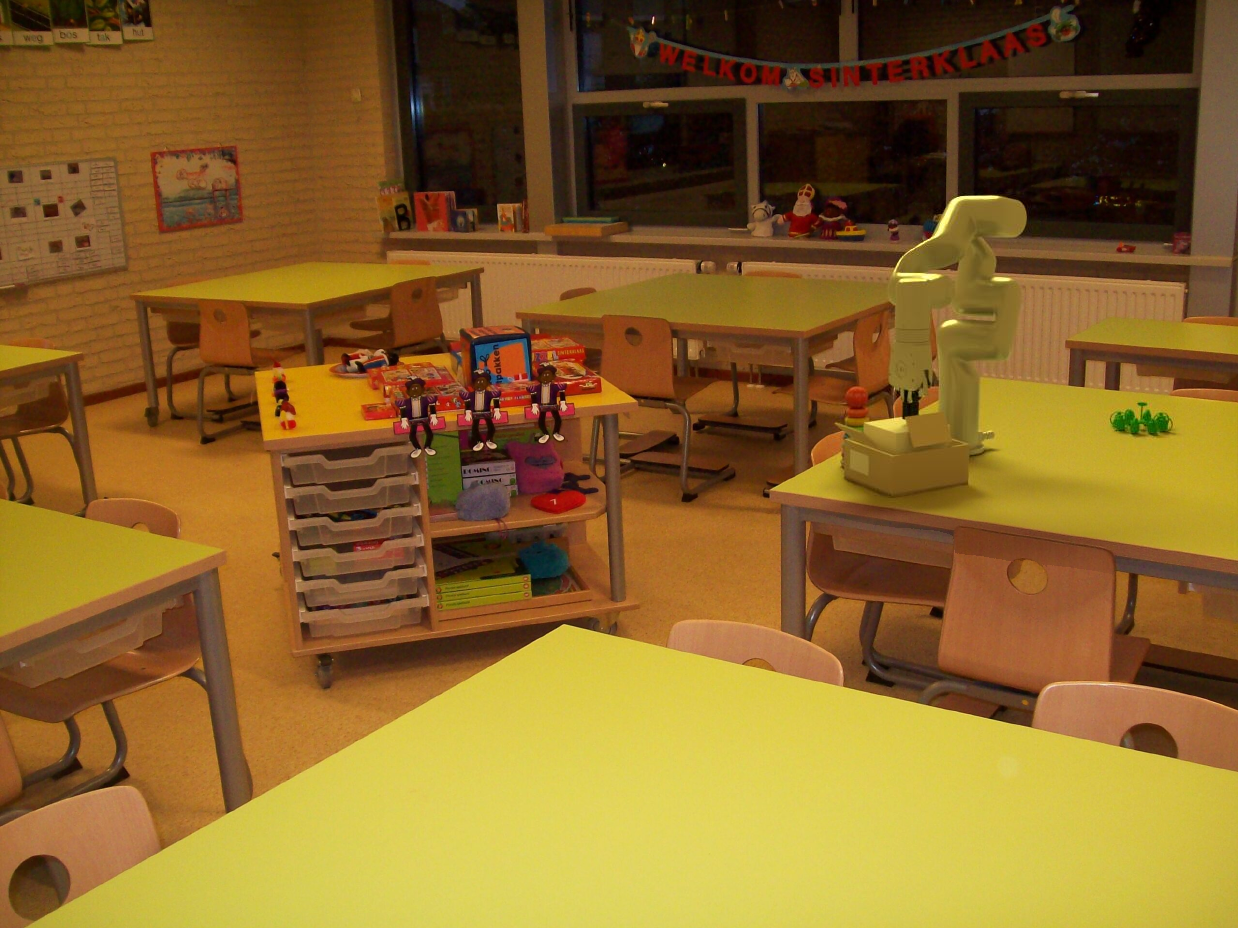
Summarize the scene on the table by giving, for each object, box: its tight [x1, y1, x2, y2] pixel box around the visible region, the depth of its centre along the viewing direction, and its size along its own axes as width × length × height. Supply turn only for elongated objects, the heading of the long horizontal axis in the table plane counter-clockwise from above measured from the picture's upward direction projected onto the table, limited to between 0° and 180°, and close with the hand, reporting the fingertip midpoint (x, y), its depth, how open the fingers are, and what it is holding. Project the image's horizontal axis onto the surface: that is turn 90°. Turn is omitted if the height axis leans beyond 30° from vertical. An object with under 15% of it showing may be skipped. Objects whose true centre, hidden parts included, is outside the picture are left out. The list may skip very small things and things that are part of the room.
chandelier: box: [1109, 401, 1174, 435], centre depth 308 cm, size 15×15×7 cm
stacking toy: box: [840, 386, 870, 468], centre depth 282 cm, size 8×8×19 cm
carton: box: [843, 416, 970, 498], centre depth 269 cm, size 21×19×13 cm
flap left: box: [905, 411, 952, 448], centre depth 262 cm, size 10×7×1 cm
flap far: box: [834, 421, 882, 450], centre depth 263 cm, size 10×7×1 cm
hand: (910, 419), depth 267 cm, fingers closed
